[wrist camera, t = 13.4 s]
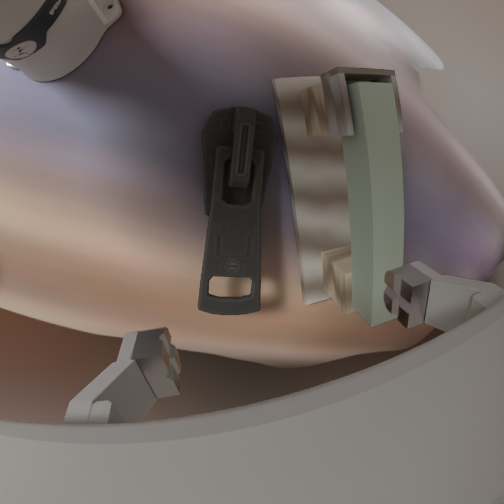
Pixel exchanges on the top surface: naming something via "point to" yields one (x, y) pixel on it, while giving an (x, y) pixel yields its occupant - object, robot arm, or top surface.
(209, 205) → the zipper pull
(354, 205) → the rail
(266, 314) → the top surface
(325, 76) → the rail posts
